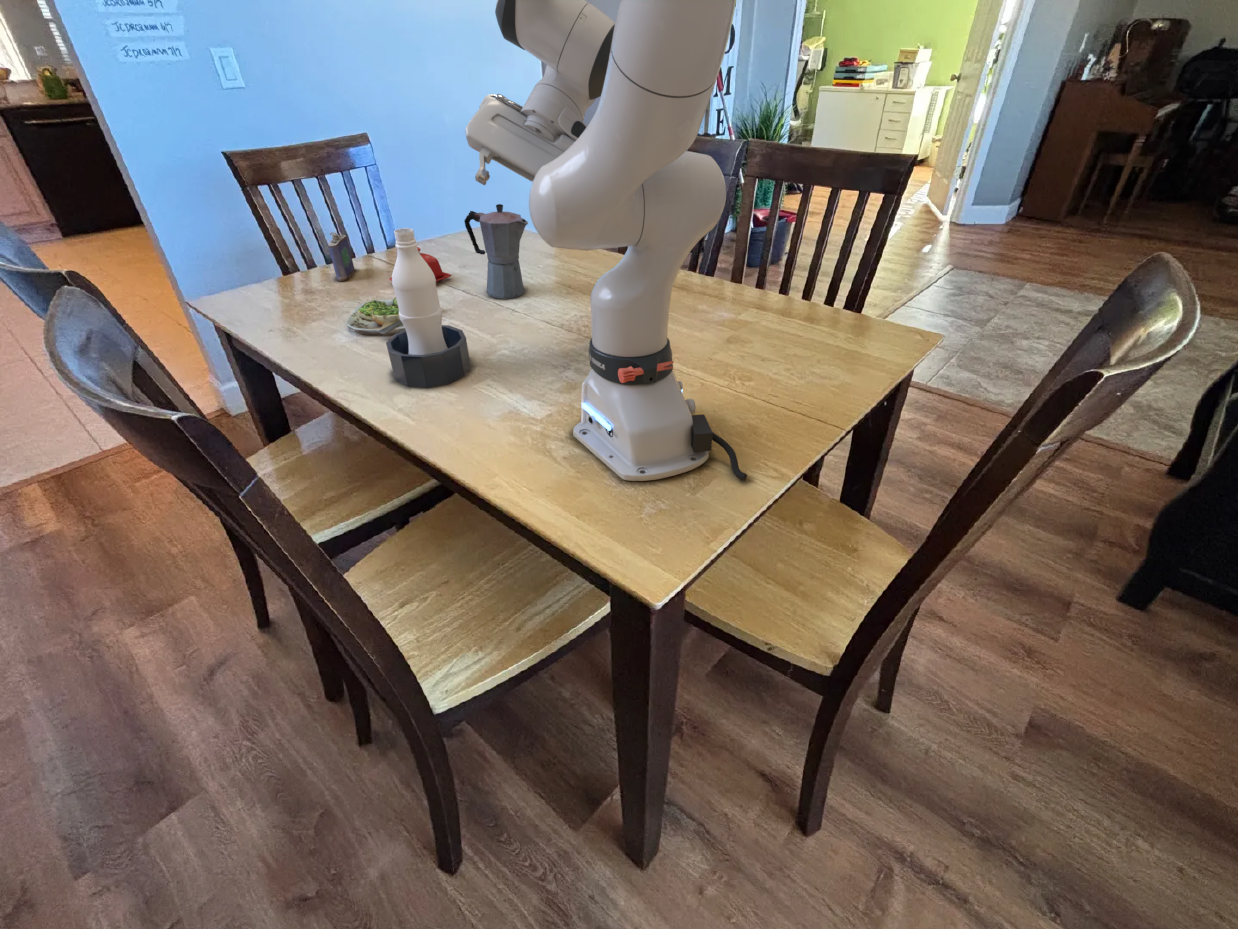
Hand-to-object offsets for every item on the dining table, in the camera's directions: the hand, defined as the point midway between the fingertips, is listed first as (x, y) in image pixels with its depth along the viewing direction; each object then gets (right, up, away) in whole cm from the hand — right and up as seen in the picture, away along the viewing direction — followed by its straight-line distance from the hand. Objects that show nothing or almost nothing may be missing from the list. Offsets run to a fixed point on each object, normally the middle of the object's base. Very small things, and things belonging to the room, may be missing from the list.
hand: (506, 196), depth 97 cm
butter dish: (-32, +3, +58) cm, 66 cm away
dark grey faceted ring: (-17, -24, +18) cm, 35 cm away
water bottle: (-17, -24, +19) cm, 35 cm away
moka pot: (-10, -1, +51) cm, 52 cm away
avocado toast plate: (-32, -10, +38) cm, 51 cm away
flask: (-52, +6, +62) cm, 82 cm away
